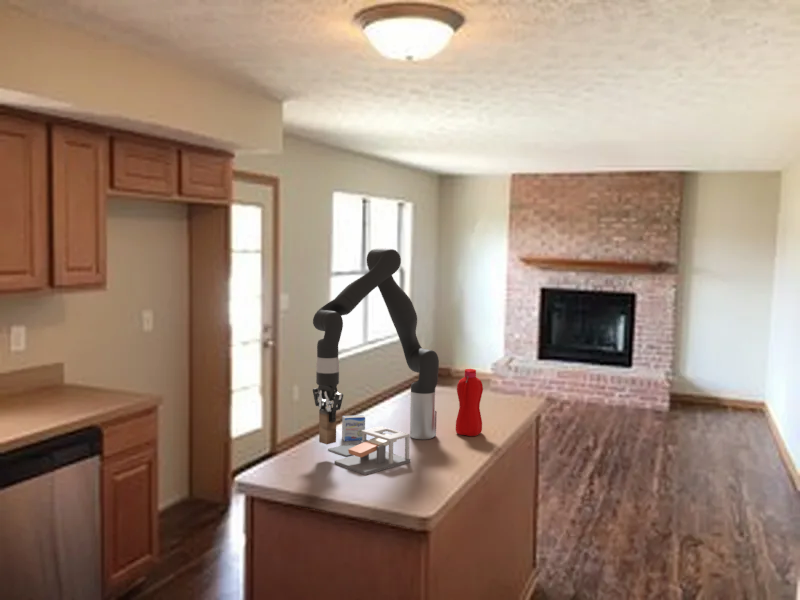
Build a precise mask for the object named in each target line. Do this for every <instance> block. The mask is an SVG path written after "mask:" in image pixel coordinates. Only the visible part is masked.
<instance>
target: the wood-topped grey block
mask: <svg viewBox="0 0 800 600" xmlns="http://www.w3.org/2000/svg"><path fill="white" fill-rule="evenodd" d="M318 410H319V411H318V413H319V414H318V417H319V419H318V420H319V421H318V423H319V424H318V425H319V426H318V427H319V428H318V429H319V430H318V434H319V435H318V441H319V443H321V444H324V445H330V444H334V443H337V419H336V420H335V422H333V423H330V422H329V412H330V411H329V407H326V408H325V409H318Z"/></svg>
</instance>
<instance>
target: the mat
mask: <svg viewBox="0 0 800 600" xmlns="http://www.w3.org/2000/svg"><path fill="white" fill-rule="evenodd" d="M354 446H356V445H355V444H352V443H346V444H342V445H338V446H334V447H331V448H328V449H327V451H330V452H331V451H332V453H335V454H338V455H340V456H343V457H345V458H348V457H352V456H353V455H352V454H349V451H348V449H350V448H352V447H354Z"/></svg>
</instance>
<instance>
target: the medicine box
mask: <svg viewBox="0 0 800 600" xmlns="http://www.w3.org/2000/svg"><path fill="white" fill-rule="evenodd" d="M341 417H342V418H341V422H342V423H341V439H342V440H343V442H357V441H362V433H361V430H366V417H365V416H364V415H363V414H356V415H354V414H353V415H342V416H341Z"/></svg>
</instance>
